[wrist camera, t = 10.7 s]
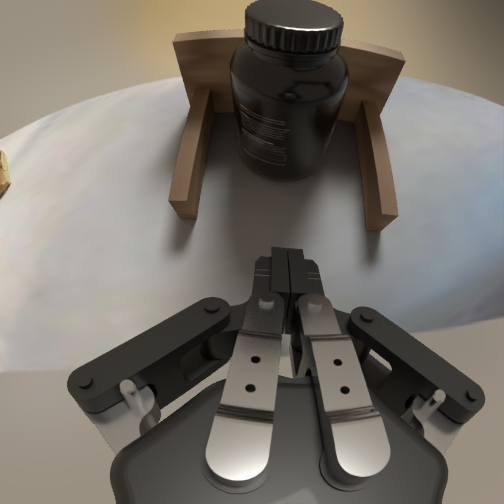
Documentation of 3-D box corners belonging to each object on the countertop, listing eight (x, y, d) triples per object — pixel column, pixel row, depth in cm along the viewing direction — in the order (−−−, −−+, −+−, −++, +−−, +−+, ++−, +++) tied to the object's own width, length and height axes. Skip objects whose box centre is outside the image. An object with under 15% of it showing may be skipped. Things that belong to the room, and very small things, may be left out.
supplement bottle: (341, 164, 21) (394, 39, 9) (263, 198, 20) (266, 57, 8) (295, 106, 22) (311, -14, 11) (223, 132, 22) (202, 2, 10)
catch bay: (371, 116, 22) (401, 52, 14) (390, 231, 19) (449, 181, 11) (194, 103, 23) (176, 33, 15) (169, 218, 20) (124, 157, 12)
